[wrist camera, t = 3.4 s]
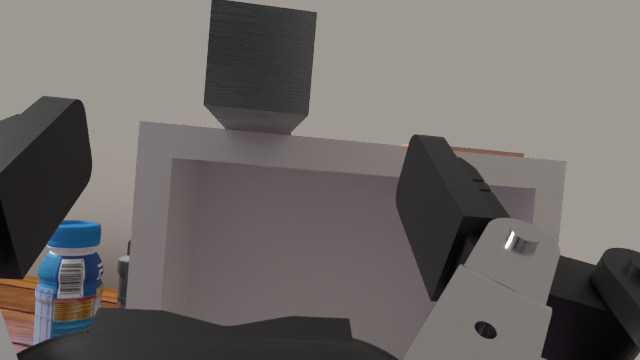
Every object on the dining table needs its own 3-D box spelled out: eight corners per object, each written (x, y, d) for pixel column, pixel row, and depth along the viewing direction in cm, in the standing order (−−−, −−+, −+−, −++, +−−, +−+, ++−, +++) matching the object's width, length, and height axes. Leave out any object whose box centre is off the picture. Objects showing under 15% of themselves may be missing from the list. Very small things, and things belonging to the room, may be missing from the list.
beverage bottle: (14, 369, 61) (24, 222, 60) (61, 346, 69) (71, 217, 69) (68, 380, 59) (79, 229, 59) (110, 355, 68) (120, 223, 67)
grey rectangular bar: (325, 116, 13) (336, -20, 13) (185, 102, 13) (196, -40, 13) (285, 145, 33) (289, 91, 33) (229, 140, 32) (234, 85, 32)
